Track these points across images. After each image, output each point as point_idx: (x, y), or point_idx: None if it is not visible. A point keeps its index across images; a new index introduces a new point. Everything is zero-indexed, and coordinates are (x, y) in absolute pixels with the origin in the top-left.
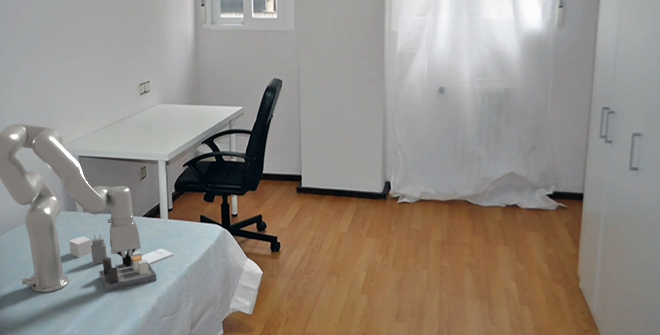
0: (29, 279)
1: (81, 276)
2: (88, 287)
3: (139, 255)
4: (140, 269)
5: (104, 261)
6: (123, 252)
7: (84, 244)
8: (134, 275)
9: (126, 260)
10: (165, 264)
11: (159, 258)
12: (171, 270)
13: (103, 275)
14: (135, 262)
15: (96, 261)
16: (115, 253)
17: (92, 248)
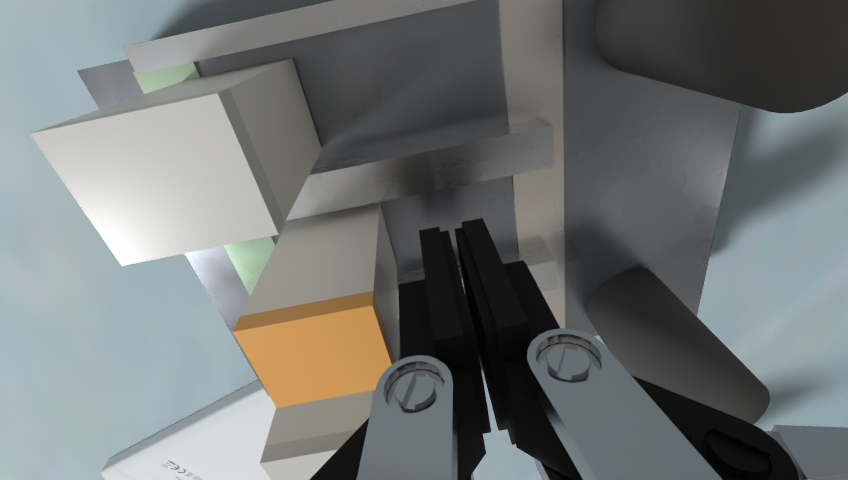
0: None
1: (765, 325)
2: (817, 122)
3: (292, 432)
4: (253, 75)
5: (751, 374)
6: (620, 455)
7: None
8: (377, 124)
9: (494, 282)
10: (131, 359)
11: (190, 433)
12: (28, 247)
13: (695, 227)
14: (341, 280)
15: None
16: (828, 447)
17: None
